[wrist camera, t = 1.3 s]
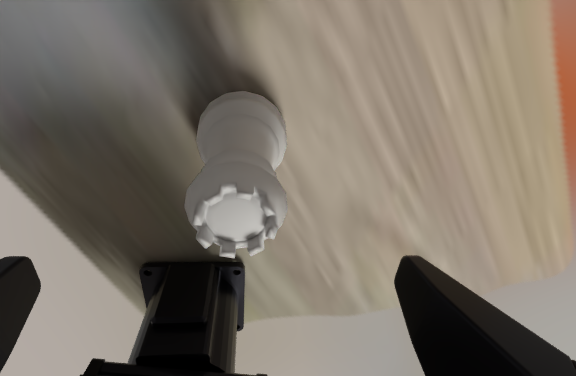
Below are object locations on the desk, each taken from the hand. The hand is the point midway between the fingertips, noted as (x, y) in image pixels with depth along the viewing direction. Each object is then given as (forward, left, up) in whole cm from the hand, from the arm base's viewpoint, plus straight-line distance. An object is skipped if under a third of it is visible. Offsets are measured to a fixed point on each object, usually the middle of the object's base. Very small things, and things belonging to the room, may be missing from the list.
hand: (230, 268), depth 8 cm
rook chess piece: (0, 0, -10) cm, 10 cm away
